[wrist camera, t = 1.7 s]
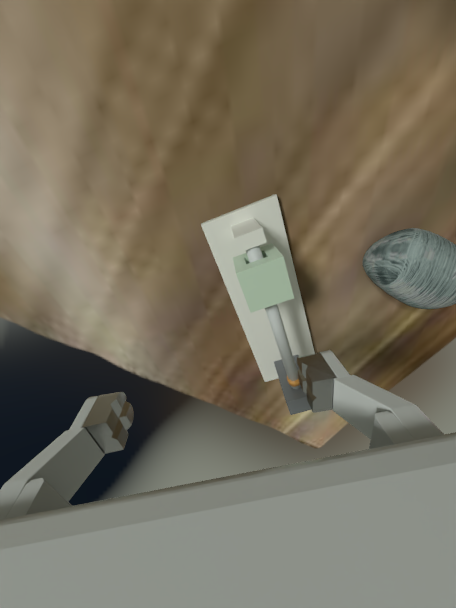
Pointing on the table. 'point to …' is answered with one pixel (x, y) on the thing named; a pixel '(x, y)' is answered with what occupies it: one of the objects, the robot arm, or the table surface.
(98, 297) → the table surface
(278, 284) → the sleeve
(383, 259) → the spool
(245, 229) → the stand
